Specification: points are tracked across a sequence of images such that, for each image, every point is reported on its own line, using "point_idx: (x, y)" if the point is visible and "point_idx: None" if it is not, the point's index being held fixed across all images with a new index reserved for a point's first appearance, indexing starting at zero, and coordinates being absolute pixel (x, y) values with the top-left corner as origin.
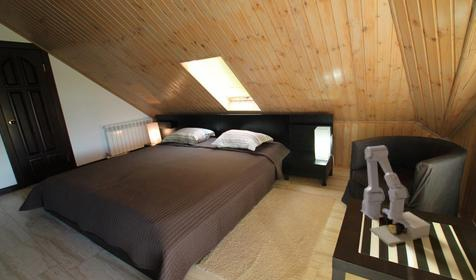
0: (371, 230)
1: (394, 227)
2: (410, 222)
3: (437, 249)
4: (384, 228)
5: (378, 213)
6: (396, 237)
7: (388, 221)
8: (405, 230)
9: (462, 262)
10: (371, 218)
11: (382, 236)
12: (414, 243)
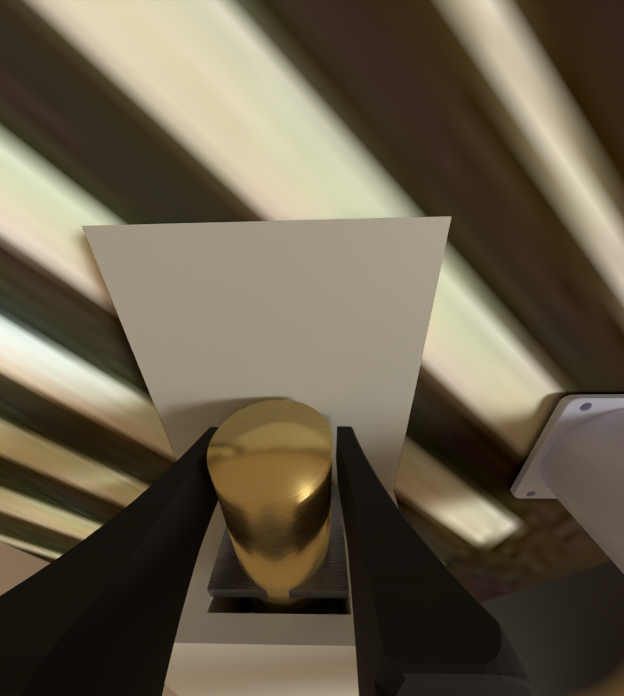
0: (416, 218)
1: (223, 501)
2: (237, 664)
3: (111, 517)
4: (367, 395)
5: (578, 505)
6: (205, 398)
7: (355, 536)
8: (225, 527)
9: (17, 533)
10: (574, 398)
11: (238, 261)
12: (165, 460)
